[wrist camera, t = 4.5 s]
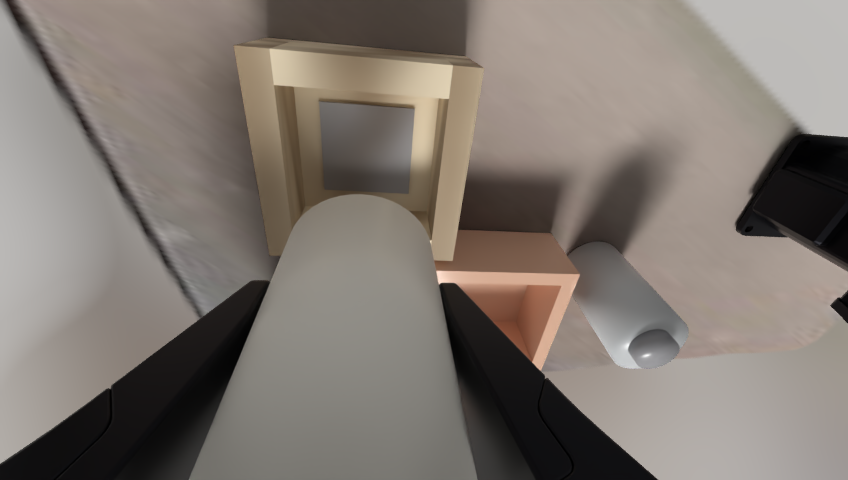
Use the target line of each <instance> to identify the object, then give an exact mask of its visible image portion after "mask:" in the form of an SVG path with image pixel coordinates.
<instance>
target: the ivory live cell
mask: <svg viewBox="0 0 848 480" xmlns="http://www.w3.org/2000/svg"><path fill="white" fill-rule="evenodd" d="M189 480H478V479H477V474H476V469H475V464H474V459H473V454H472V449H471V444H470V439H469V434H468V429H467V424H466V419H465V414H464V409H463V404H462V399H461V394H460V389H459V383H458V378H457V373H456V368H455V363H454V358H453V353H452V348H451V343H450V338H449V333H448V328H447V323H446V318H445V313H444V308H443V303H442V298H441V293H440V288H439V282H438V277H437V272H436V267H435V262H434V257H433V252H432V247H431V243H430V239H429V236H428V234H427V232H426V230H425V228H424V227H423V225H422V224H421V222H420V221H419V220H418V219H417V218H416V217H415V216H414V215H413V214H412V213H411V212H409V211H408V210H407V209H405V208H404V207H402V206H401V205H399V204H397V203H395V202H393V201H390V200H388V199H385V198H382V197H377V196H373V195H364V194H350V195H342V196H338V197H334V198H330V199H328V200H325V201H323V202H320V203H319V204H317V205H315V206H313V207H312V208H311V209H309V210H308V211H307V212H305V213H304V214H303V215H302V216H301V218H300V219H299V220H298V221H297V223H296V224H295V225H294V227H293V229H292V231H291V233H290V236H289V238H288V241H287V243H286V245H285V248H284V250H283V253H282V255H281V257H280V260H279V262H278V265H277V267H276V270H275V272H274V274H273V277H272V279H271V282H270V284H269V287H268V289H267V291H266V294H265V296H264V299H263V301H262V303H261V306H260V308H259V311H258V313H257V316H256V318H255V320H254V323H253V325H252V328H251V330H250V333H249V335H248V337H247V340H246V342H245V345H244V347H243V349H242V352H241V354H240V357H239V359H238V362H237V364H236V366H235V369H234V371H233V374H232V376H231V379H230V381H229V383H228V386H227V388H226V391H225V393H224V395H223V398H222V400H221V403H220V405H219V408H218V410H217V412H216V415H215V417H214V420H213V422H212V425H211V427H210V429H209V432H208V434H207V437H206V439H205V442H204V444H203V446H202V449H201V451H200V454H199V456H198V458H197V461H196V463H195V466H194V468H193V471H192V473H191V475H190V478H189Z"/></svg>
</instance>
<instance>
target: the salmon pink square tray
mask: <svg viewBox="0 0 848 480" xmlns="http://www.w3.org/2000/svg"><path fill="white" fill-rule="evenodd" d="M434 262H435V267H436V272H437V277H438V282H439V284H440V283H456V284H457V285H458V286H459V287H460V288H461V289H462V290H463V291H464V292H465V293H466V294H467V295H468V296H469V297H470V298H471V299H472V300H473V301H474V302H475V303H476V305H477V306H478V307H479V308H480V309H481V310H482V311H483V312H484V313H485V314H486V315H487V316H488V317H489V318H490V319H491V320H492V321H493V322H494V323H495V324H496V325H497V326H498V327H499V328H500V329H501V330H502V331H503V333H504V334H505V335H506V336H507V337H508V338H509V339H510V340H511V341H512V342H513V343H514V344H515V345H516V346H517V347H518V348H519V349H520V350H521V351H522V352H523V353H524V354H525V355H526V356H527V357H528V358H529V360H530V361H531V362H532V363H533V364H534V365H535V366H536V367H537V368H538V369H539V370H540V371H541V369H542V367H543V364H544V362H545V359H546V357H547V354H548V352H549V349H550V347H551V345H552V342H553V340H554V337H555V335H556V332H557V330H558V327H559V325H560V323H561V320H562V318H563V315H564V313H565V310H566V308H567V305H568V303H569V301H570V298H571V296H572V293H573V291H574V288H575V286H576V283H577V281H578V278H579V276H580V273H579V272H578V271H577V269H576V268H575V266H574V265H573V264H572V262H571V261H570V259H569V258H568V257H567V255H566V254H565V252H564V251H563V249H562V248H561V247H560V245H559V244H558V242H557V241H556V240H555V238H554V237H553V235H552V234H551V233H530V232H505V231H479V230H458V231H457V237H456V243H455V249H454V255H453V261H437V260H434Z"/></svg>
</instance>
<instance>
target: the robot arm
mask: <svg viewBox="0 0 848 480" xmlns="http://www.w3.org/2000/svg"><path fill="white" fill-rule="evenodd" d="M736 231H737V232H738V233H740V234H742V235H744V236H767V237H789V238H790V239H792V240H794V241H796V242H797V243H799V244H801V245H803V246H804V247H806V248H808V249H809V250H811V251H813V252H815V253H816V254H818V255H820V256H822V257H823V258H825V259H827V260H829V261H830V262H832V263H834V264H836V265H837V266H839V267H841V268H842V269H844V270H846V271H848V137H837V136H824V135H812V134H801V135H798V136H797V137H795V138H794V139H793V140H792V141H791V143H790V144H789V146H788V147H787V149H786V150H785V152H784V154H783V155H782V157H781V158H780V160H779V161H778V163H777V164H776V166H775V167H774V169H773V171H772V172H771V174H770V175H769V177H768V178H767V180H766V181H765V183H764V185H763V186H762V188H761V189H760V191H759V192H758V194H757V195H756V197H755V199H754V200H753V202H752V203H751V205H750V206H749V208H748V209H747V211H746V212H745V214H744V216H743V217H742V219H741V220H740V222H739V223H738V225H737V227H736ZM269 284H270V282H269V281H267V280H253V281H250V282H249V283H247V284H246V285H245V286H243V287H242V288H241V289H239V290H238V291H237V292H235V293H234V294H233V295H231V296H230V297H229V298H227V299H226V300H225V301H223V302H222V303H221V304H219V305H218V306H217V307H215V308H214V309H213V310H211V311H210V312H209V313H207V314H206V315H205V316H203V317H202V318H201V319H199V320H198V321H197V322H196V323H194V324H193V325H191V326H190V327H189V328H187V329H186V330H185V331H183V332H182V333H181V334H179V335H178V336H177V337H176V338H174V339H173V340H171V341H170V342H169V343H167V344H166V345H165V346H163V347H162V348H161V349H160V350H158V351H157V352H155V353H154V354H153V355H151V356H150V357H149V358H147V359H146V360H145V361H143V362H142V363H141V364H139V365H138V366H137V367H135V368H134V369H133V370H131V371H130V372H129V373H127V374H126V375H125V376H123V377H122V378H121V379H119V380H118V381H117V382H115V383H114V384H113V385H112V386H111V389H109V388H108V389H106V390H104V391H103V392H102V393H100V394H99V395H98V396H96V397H95V398H94V399H92V400H91V401H90V402H88V403H87V404H86V405H84V406H83V407H81V408H80V409H79V410H77V411H76V412H75V413H73V414H72V415H70V416H69V417H68V418H66V419H65V420H63V421H62V422H61V423H59V424H58V425H57V426H55V427H54V428H52V429H51V430H50V431H48V432H47V433H45V434H44V435H42V436H41V437H39V438H38V439H36V440H35V441H33V442H32V443H30V444H29V445H27V446H26V447H24V448H23V449H22V450H20V451H19V452H17V453H16V454H14V455H13V456H11V457H10V458H8V459H7V460H5V461H4V462H2V463H1V464H0V480H189V478H190V475H191V473H192V471H193V468H194V466H195V463H196V461H197V458H198V456H199V454H200V451H201V449H202V446H203V444H204V442H205V439H206V437H207V434H208V432H209V429H210V427H211V425H212V422H213V420H214V417H215V415H216V412H217V410H218V408H219V405H220V403H221V400H222V398H223V395H224V393H225V391H226V388H227V386H228V383H229V381H230V379H231V376H232V374H233V371H234V369H235V366H236V364H237V362H238V359H239V357H240V354H241V352H242V349H243V347H244V345H245V342H246V340H247V337H248V335H249V333H250V330H251V328H252V325H253V323H254V320H255V318H256V316H257V313H258V311H259V308H260V306H261V303H262V301H263V299H264V296H265V294H266V291H267V289H268V287H269ZM439 288H440V293H441V298H442V303H443V308H444V313H445V318H446V323H447V328H448V333H449V338H450V343H451V348H452V353H453V358H454V363H455V368H456V373H457V378H458V383H459V389H460V394H461V399H462V404H463V409H464V414H465V419H466V424H467V429H468V434H469V439H470V444H471V449H472V454H473V459H474V464H475V469H476V474H477V479H478V480H658V479H657V478H655V477H654V476H653V475H652V474H651V473H650V472H649V471H647V470H646V469H645V468H644V467H643V466H642V465H640V464H639V463H638V462H637V461H636V460H635V459H634V458H633V457H631V456H630V455H629V454H628V453H627V452H626V451H625V450H623V449H622V448H621V447H620V446H619V445H618V444H617V443H615V442H614V441H613V440H612V439H611V438H610V437H609V436H607V435H606V434H605V433H604V432H603V431H601V429H599V428H598V427H597V426H596V425H595V424H594V423H593V422H592V421H591V420H590V419H588V418H587V417H586V416H585V415H584V414H583V413H582V412H581V411H580V410H579V409H578V408H577V407H576V406H575V405H574V404H572V402H571V401H570V400H569V399H567V397H566V396H564V394H563V393H562V392H561V391H560V390H558V388H557V387H556V386H555V385H554V384H553V383H552V382H551V381H550V380H549V379H548V378H546V379H545V375H544V374H543V373H542V372H541V371H540V370H539V369H538V368H537V367H536V366H535V365H534V364H533V363H532V362H531V361H530V360H529V358H528V357H527V356H526V355H525V354H524V353H523V352H522V351H521V350H520V349H519V348H518V347H517V346H516V345H515V344H514V343H513V342H512V341H511V340H510V339H509V338H508V337H507V336H506V335H505V334H504V333H503V331H502V330H501V329H500V328H499V327H498V326H497V325H496V324H495V323H494V322H493V321H492V320H491V319H490V318H489V317H488V316H487V315H486V314H485V313H484V312H483V311H482V310H481V309H480V308H479V307H478V306H477V305H476V303H475V302H474V301H473V300H472V299H471V298H470V297H469V296H468V295H467V294H466V293H465V292H464V291H463V290H462V289H461V288H460V287H459V286H458V285H457V284H456V283H440V284H439ZM830 306H831V307H832V308H833V309H834V310H835V311H836V312H837V313H838V314H839V315H840V316H842V317H843V319H844V320H845V321H846V322H847V323H848V291H847V292H846V293H845V294H844V295H843V296H842V297H841V298H837V299H836V300H835V301H834V302H833V303H832V304H831V305H830Z"/></svg>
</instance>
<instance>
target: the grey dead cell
mask: <svg viewBox="0 0 848 480" xmlns="http://www.w3.org/2000/svg"><path fill="white" fill-rule="evenodd" d="M567 257H568V258H569V259H570V261H571V262H572V264H573V265H574V266H575V268H576V269H577V271H578V272H579V273H580V276H579V278H578V281H577V283H576V286H575V288H574V291H573V293H572V296H573V298H574V299H575V301H576V302H577V304H578V305H579V307H580V309H581V310H582V312H583V313H584V315H585V317H586V318H587V320H588V321H589V323H590V325H591V326H592V328H593V329H594V331H595V332H596V334H597V336H598V337H599V339H600V340H601V342H602V344H603V345H604V347H605V348H606V350H607V352H608V353H609V355H610V356H611V358H612V359H613V361H614V362H615V363H616V364H617V365H619V366H621V367H624V368H631V369H636V368H646V369H651V368H657V367H660V366H663V365H665V364H667V363H668V362H670V361H671V360H673V359H674V358H675V357H676V356H677V354H678V353H679V350H680V348H681V347H682V346H683V345H684V343H685V341H686V339H687V337H688V327H687V325H686V323H685V322H684V321H683V320H682V319H681V318H680V317H679V316H678V315H677V314H676V312H675V311H674V310H673V309H672V308H671V307H670V306H669V305H668V304H667V303H666V302H665V301H664V300H663V299H662V297H661V296H660V295H659V294H658V293H657V292H656V291H655V290H654V289H653V288H652V287H651V286H650V285H649V284H648V282H647V281H646V280H645V279H644V278H643V277H642V276H641V275H640V274H639V273H638V272H637V271H636V270H635V269H634V268H633V266H632V265H631V264H630V263H629V262H628V261H627V260H626V259H625V258H624V257H623V256H622V255H621V254H620V253H619V251H618V250H617V249H616V248H615V247H614V246H613V245H611V244H609V243H606V242H590V243H587V244H584V245H582V246H579V247H578V248H576V249H575V250H573V251H572V252H571V253H570V254H569V255H568V256H567Z"/></svg>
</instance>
